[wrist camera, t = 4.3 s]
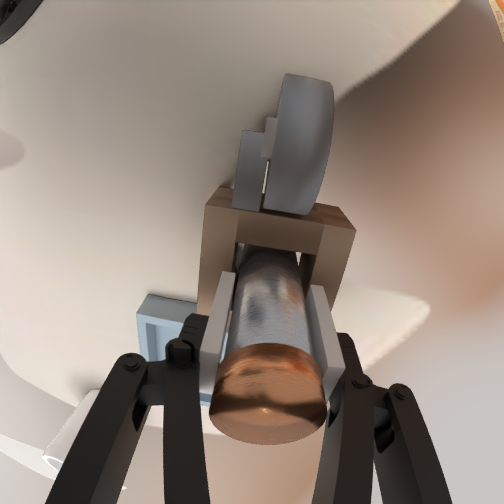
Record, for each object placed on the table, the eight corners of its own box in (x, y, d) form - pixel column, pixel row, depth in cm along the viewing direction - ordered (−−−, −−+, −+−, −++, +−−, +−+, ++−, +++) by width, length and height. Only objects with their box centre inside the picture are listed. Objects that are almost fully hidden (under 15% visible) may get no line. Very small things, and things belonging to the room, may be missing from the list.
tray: (147, 294, 26) (136, 313, 23) (268, 314, 26) (268, 336, 23) (153, 373, 30) (146, 393, 28) (250, 391, 31) (249, 412, 28)
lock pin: (245, 220, 22) (212, 374, 9) (302, 230, 23) (344, 387, 9) (237, 271, 24) (206, 437, 11) (291, 280, 24) (308, 447, 11)
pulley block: (234, 76, 18) (215, 51, 11) (360, 101, 18) (408, 92, 11) (207, 291, 25) (186, 356, 18) (311, 306, 25) (324, 374, 18)
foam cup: (132, 393, 32) (99, 476, 21) (142, 428, 36) (119, 499, 25) (71, 374, 32) (30, 445, 21) (88, 411, 36) (59, 475, 25)
